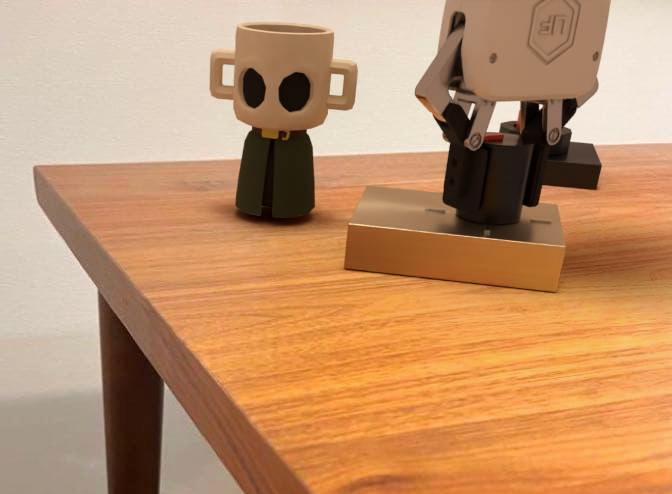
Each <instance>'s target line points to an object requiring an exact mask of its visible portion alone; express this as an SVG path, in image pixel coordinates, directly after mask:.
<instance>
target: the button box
mask: <svg viewBox="0 0 672 494" xmlns="http://www.w3.org/2000/svg"><path fill="white" fill-rule="evenodd" d="M516 125H517V120H508V121H504V122H503V121H502V122H500V125H499V130H498V132H499V133H509V134H515V135H520V136H521V133H520V129H518V128H516ZM572 134H573V131H572V129H571V128H569V127H566V126H564V127H563V128H562V129H561V137H560V139H559V141H558V142H557V143H556V144H555V145H550V150H549V155H548V160H547V165H546V170H545V175H544V180H543V185H542V186H545V187H546V186H547V187H557V188H569V189H579V190H588V191H589V190H590V191H597V188H598V184H599V180H600V176H601V172H602V167H603V165H602V162H601V160H600V157H599V155H598V152H597V150H596V148H595V145H594V143H590V142H579V141H571V139H572V136H573V135H572Z"/></svg>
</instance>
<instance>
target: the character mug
mask: <svg viewBox="0 0 672 494" xmlns="http://www.w3.org/2000/svg"><path fill="white" fill-rule="evenodd" d="M234 37H235V39H234V40H235V41H234V44H235V45H234V47H235V48H234V49H222V48H217V49H214V50H211V53H210V57H209V91H210V96H211V97H212V98H215V99H218V100H228V101H232V103H233V105H232V106H233V107H232V109H233V112H234V115H235V118H236V120H237V121H239V122H241V123H243V124H245V125H247V126H250V127H251V130H249V131H248V132H247V135H246V136H245V139H244V141H243V148H242V152H241V159H240V165H239V171H238V177H237V185H236V194H235V203H234V207H235V208H237V209H238V210H240V211H241V212H243V213H245V214H249V215H254V216H260V217H261V216H262V208H267V209H272V210H271V211H272V212H271V217H272V218H275V219H276V218H277V219H279V218H280V219H281V218H283V219H284V218H285V219H286V218H288V219H289V218H298V217H303V216H307V215H309V214H310V213H311V212H312V211H313V210H314V209H315V208H316V184H315V181H316V180H315V165H314V163H315V162H314V145H313V142H312V140H311V137H310V135H309V134H308V130H312V129H315V128H317V127H319V126H323V125H324V123H325V121H326V119H327V117H328V115H329V110H333V111H334V110H335V111H343V112H344V111H345V112H346V111H349V110H353V108H354V106H355V103H356V96H357V95H356V94H357V85H358V75H359V69H358V64H357V62H355V61H353V60H349V59H339V58H333V57H334V56H333V55H334V47H335V31H334V29H331V28H328V27H324V26H319V25H313V24H306V23H299V22H298V23H297V22H282V21H281V22H280V21H251V22H249V21H248V22H242V23H238V24H236V30H235V36H234ZM225 65H227V66H233V67H234V69H233V85H229V84H228V85H227V84H223V77H224V76H223V73H224V66H225ZM332 75H340V76H343V80H342V81H343V82H342V83H343V84H342V92H341V93H342V94H341V95H337V94H330V93H331V81H332Z"/></svg>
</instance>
